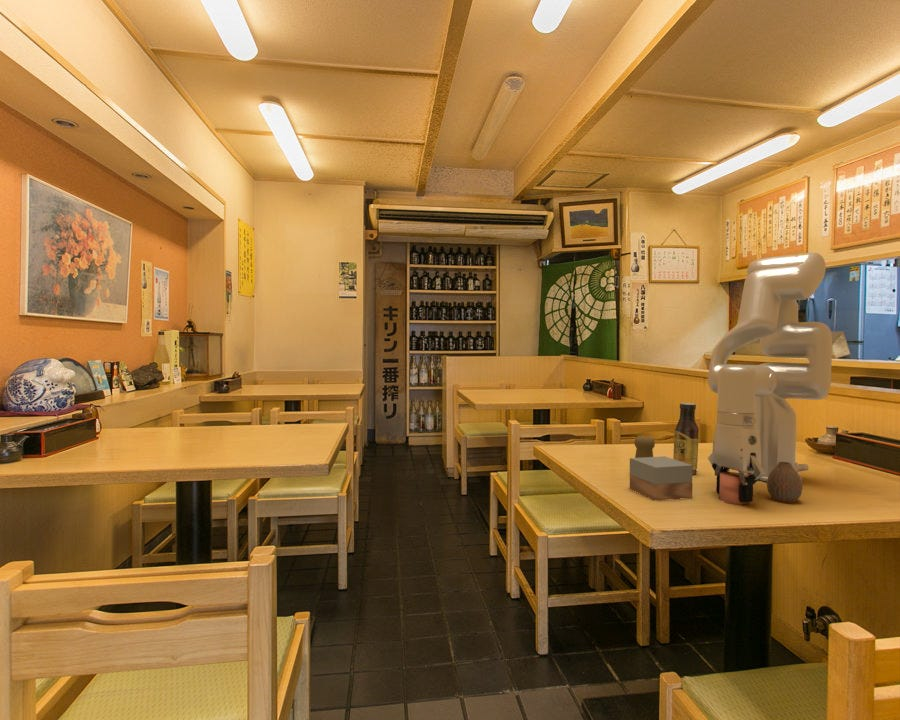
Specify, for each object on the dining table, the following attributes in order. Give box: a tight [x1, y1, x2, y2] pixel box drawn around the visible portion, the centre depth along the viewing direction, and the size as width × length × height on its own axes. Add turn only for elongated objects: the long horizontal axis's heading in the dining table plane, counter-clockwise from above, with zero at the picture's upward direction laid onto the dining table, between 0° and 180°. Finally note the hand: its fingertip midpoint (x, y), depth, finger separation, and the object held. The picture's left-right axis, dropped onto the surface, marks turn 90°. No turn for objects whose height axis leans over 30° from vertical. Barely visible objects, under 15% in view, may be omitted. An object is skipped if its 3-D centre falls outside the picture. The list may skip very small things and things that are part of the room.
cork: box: [634, 435, 656, 458], centre depth 137 cm, size 6×6×11 cm
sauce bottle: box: [672, 402, 700, 476], centre depth 141 cm, size 7×6×20 cm
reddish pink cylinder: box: [718, 471, 750, 506], centre depth 115 cm, size 6×6×6 cm
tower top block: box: [629, 455, 693, 485], centre depth 121 cm, size 10×10×4 cm
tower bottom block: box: [629, 474, 693, 501], centre depth 121 cm, size 10×10×4 cm
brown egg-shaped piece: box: [766, 462, 804, 503], centre depth 116 cm, size 7×7×9 cm
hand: (734, 496), depth 115 cm, fingers closed on reddish pink cylinder, 6 cm apart
